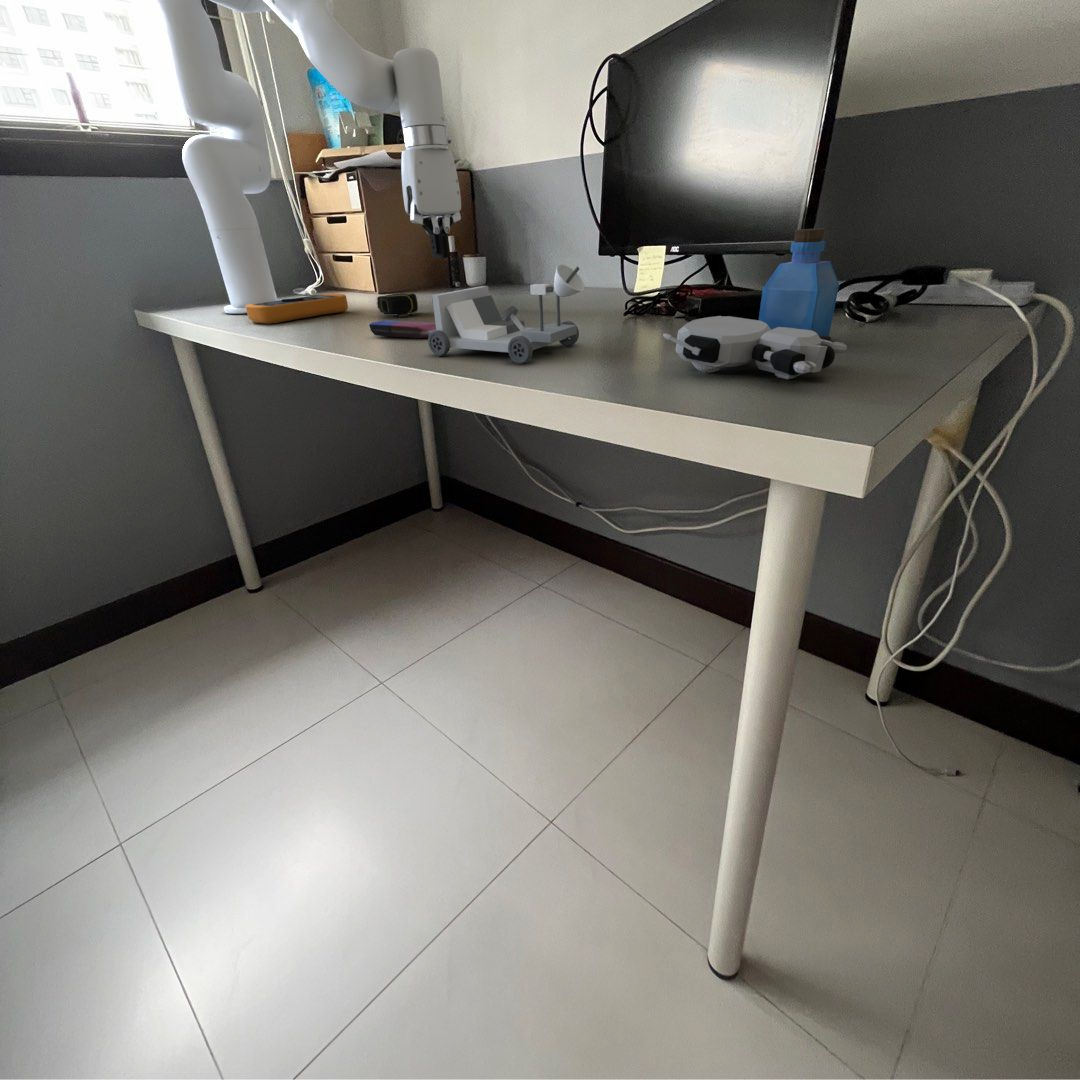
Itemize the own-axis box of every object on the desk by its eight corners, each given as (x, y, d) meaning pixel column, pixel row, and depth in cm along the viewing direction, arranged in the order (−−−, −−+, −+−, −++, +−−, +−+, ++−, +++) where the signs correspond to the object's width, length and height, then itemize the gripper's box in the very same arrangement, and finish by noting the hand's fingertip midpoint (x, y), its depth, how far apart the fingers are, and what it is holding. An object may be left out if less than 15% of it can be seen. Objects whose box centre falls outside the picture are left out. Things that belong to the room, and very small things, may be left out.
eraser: (445, 334, 86) (444, 322, 85) (430, 339, 82) (429, 326, 82) (384, 331, 90) (382, 319, 89) (367, 335, 86) (365, 323, 86)
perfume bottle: (755, 343, 69) (770, 231, 63) (778, 335, 73) (794, 228, 67) (806, 349, 65) (828, 229, 59) (828, 340, 69) (850, 227, 63)
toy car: (597, 260, 67) (545, 270, 59) (597, 347, 72) (549, 366, 64) (478, 262, 76) (417, 270, 68) (484, 338, 81) (429, 355, 72)
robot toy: (845, 374, 57) (707, 350, 66) (858, 328, 55) (714, 308, 63) (803, 404, 50) (653, 372, 58) (817, 351, 47) (658, 325, 55)
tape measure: (414, 312, 110) (411, 291, 108) (423, 316, 104) (419, 294, 103) (379, 315, 108) (375, 294, 106) (385, 320, 102) (381, 297, 100)
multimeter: (245, 322, 108) (239, 303, 106) (328, 309, 120) (324, 292, 118) (267, 325, 103) (262, 305, 101) (352, 311, 115) (348, 293, 113)
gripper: (447, 145, 107) (460, 254, 116) (377, 143, 98) (397, 261, 107) (472, 139, 102) (483, 254, 111) (401, 136, 93) (420, 261, 102)
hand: (441, 257), depth 109 cm, fingers closed
